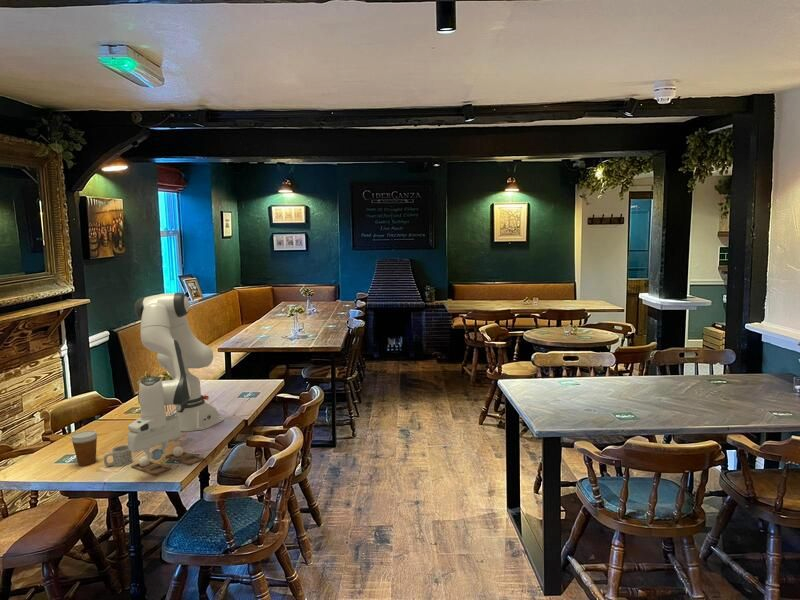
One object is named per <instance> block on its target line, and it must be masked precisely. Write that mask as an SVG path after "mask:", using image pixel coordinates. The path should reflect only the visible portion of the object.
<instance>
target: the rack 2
mask: <svg viewBox="0 0 800 600" xmlns="http://www.w3.org/2000/svg"><path fill="white" fill-rule="evenodd" d="M165 459H168V460H171V461H174V462H177V463H180V464H184V465H187V466H193V465H196V464H198V463H201V462H203V461H205V460H206V457H203V456H201V455H197V454H193V453H190V452H187V451H184V450H183V454H182V455H181V456H180V457H176V456H174V455H173V453H170V454H169V455H168V454H167V455H165Z"/></svg>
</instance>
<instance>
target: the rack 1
mask: <svg viewBox="0 0 800 600" xmlns="http://www.w3.org/2000/svg"><path fill="white" fill-rule="evenodd" d="M130 467H131V469H134V470H136V471H139V472H141V473H142V472H143V473H145V474H148V475H150V476H153V477H158V476H160V475H162V474H165V473H167V472H170V471H173V468H172V467H170V466H168V465H164V464H161V463H159V462H155V461H151V460H150V463H149V464H148V465H147V466H145V467H142V466H140V465H139V462H138V463H136V464H132V465H131V466H130Z"/></svg>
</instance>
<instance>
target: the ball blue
mask: <svg viewBox="0 0 800 600" xmlns="http://www.w3.org/2000/svg"><path fill="white" fill-rule="evenodd" d="M160 449H161V448H156V449H153V450H152V451H151V453H153V458H152V459H153V460H155V461H157V460H160V459H162V457H163V454H162V451H161V450H160Z"/></svg>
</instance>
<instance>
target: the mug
mask: <svg viewBox="0 0 800 600" xmlns="http://www.w3.org/2000/svg"><path fill="white" fill-rule="evenodd" d="M110 456H111V457H112V458H113V459H112V462H110V463H109V462H108V460H107V459H108V457H110ZM132 456H133V455H132V452H131V451H130V450H129V449H128V444H127V445H119V446H115V447H114V448H112V450H111V451H110V452H108V453H106V454H105V455H104V456H103V462H104V463H103V464H104V466H105V467H113V466H114V467H124V466H127V465H130V464H132V463H133V457H132Z"/></svg>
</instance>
